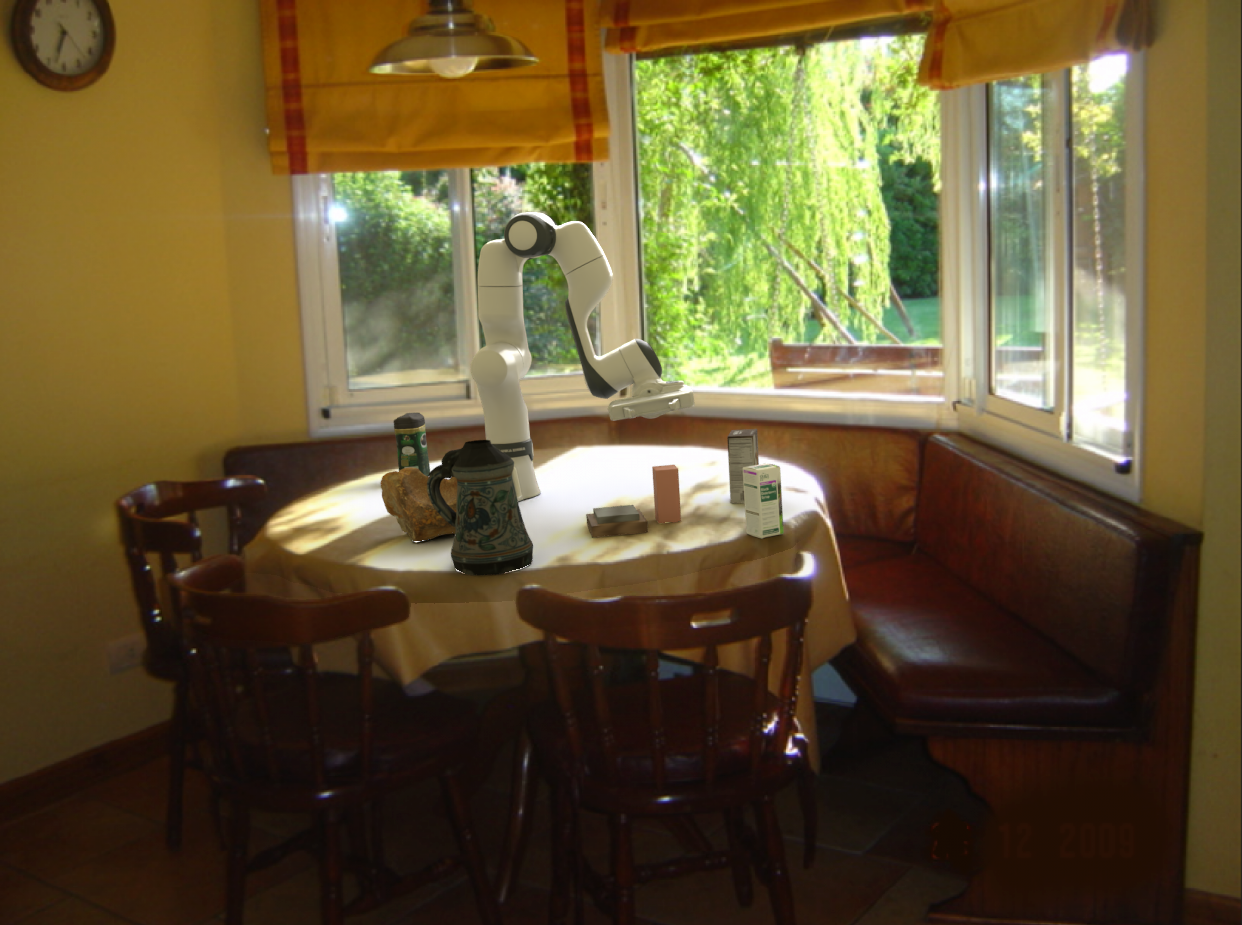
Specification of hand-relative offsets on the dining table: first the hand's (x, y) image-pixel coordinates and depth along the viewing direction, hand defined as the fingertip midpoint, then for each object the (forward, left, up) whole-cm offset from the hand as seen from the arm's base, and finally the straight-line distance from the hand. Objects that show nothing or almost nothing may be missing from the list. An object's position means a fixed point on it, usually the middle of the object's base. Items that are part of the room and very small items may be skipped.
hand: (652, 411), depth 272 cm
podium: (-12, -15, -23) cm, 30 cm away
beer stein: (-41, -35, -23) cm, 59 cm away
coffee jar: (-59, +65, -23) cm, 90 cm away
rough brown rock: (-52, -6, -23) cm, 57 cm away
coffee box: (+21, +3, -23) cm, 32 cm away
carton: (0, -11, -23) cm, 26 cm away
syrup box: (+17, -31, -23) cm, 43 cm away
